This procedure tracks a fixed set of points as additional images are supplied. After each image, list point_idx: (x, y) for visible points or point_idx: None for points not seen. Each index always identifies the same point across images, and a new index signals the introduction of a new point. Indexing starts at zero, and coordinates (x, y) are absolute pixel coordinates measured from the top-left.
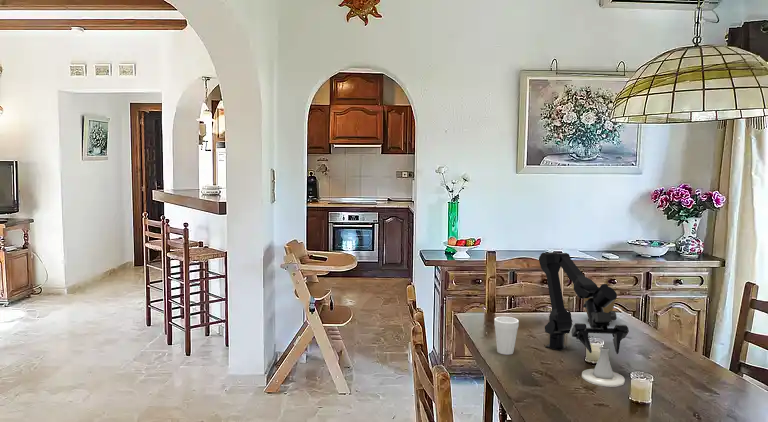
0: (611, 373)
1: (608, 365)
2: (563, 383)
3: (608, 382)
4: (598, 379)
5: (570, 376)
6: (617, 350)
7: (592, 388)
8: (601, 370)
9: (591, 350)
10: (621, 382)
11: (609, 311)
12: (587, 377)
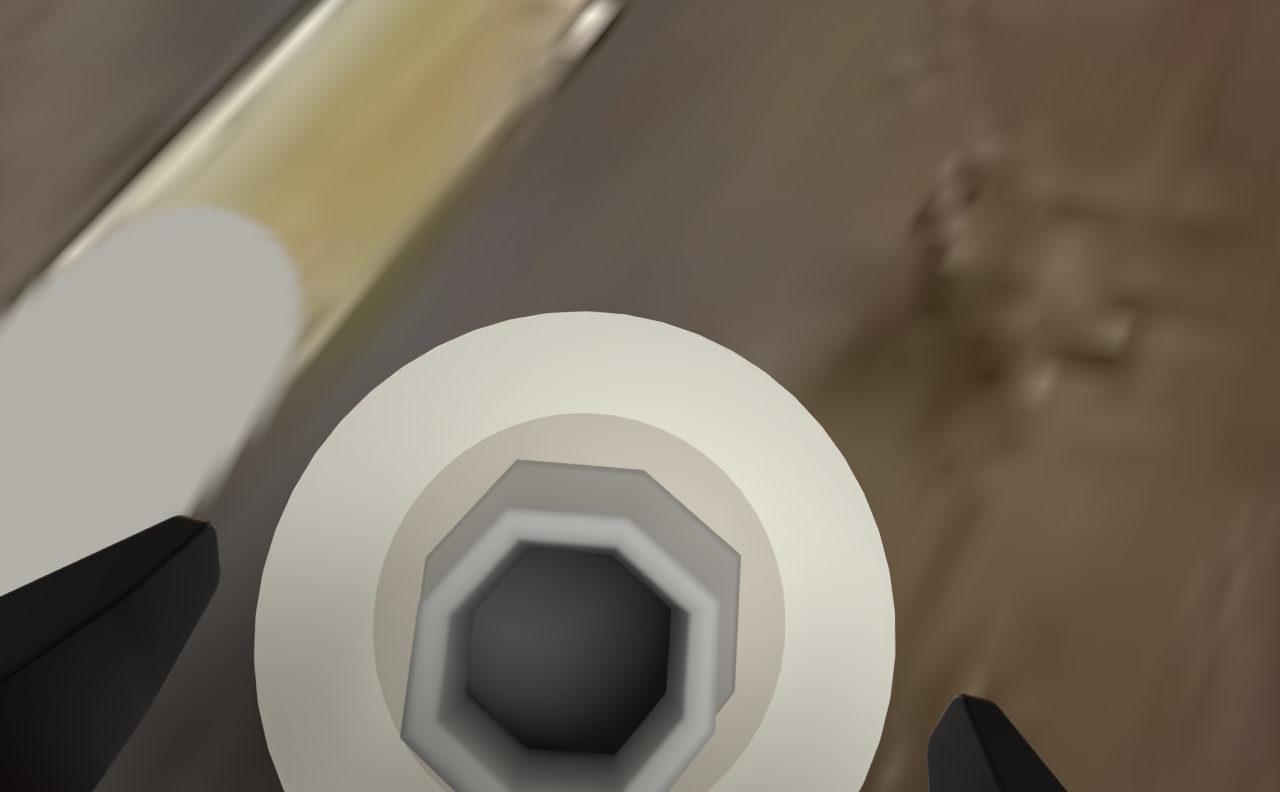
0: (508, 485)
1: (543, 508)
2: (1224, 525)
3: (640, 371)
4: (733, 487)
5: None
6: (165, 550)
7: (903, 320)
8: (675, 526)
9: (980, 712)
10: (450, 344)
11: None
12: (858, 591)
